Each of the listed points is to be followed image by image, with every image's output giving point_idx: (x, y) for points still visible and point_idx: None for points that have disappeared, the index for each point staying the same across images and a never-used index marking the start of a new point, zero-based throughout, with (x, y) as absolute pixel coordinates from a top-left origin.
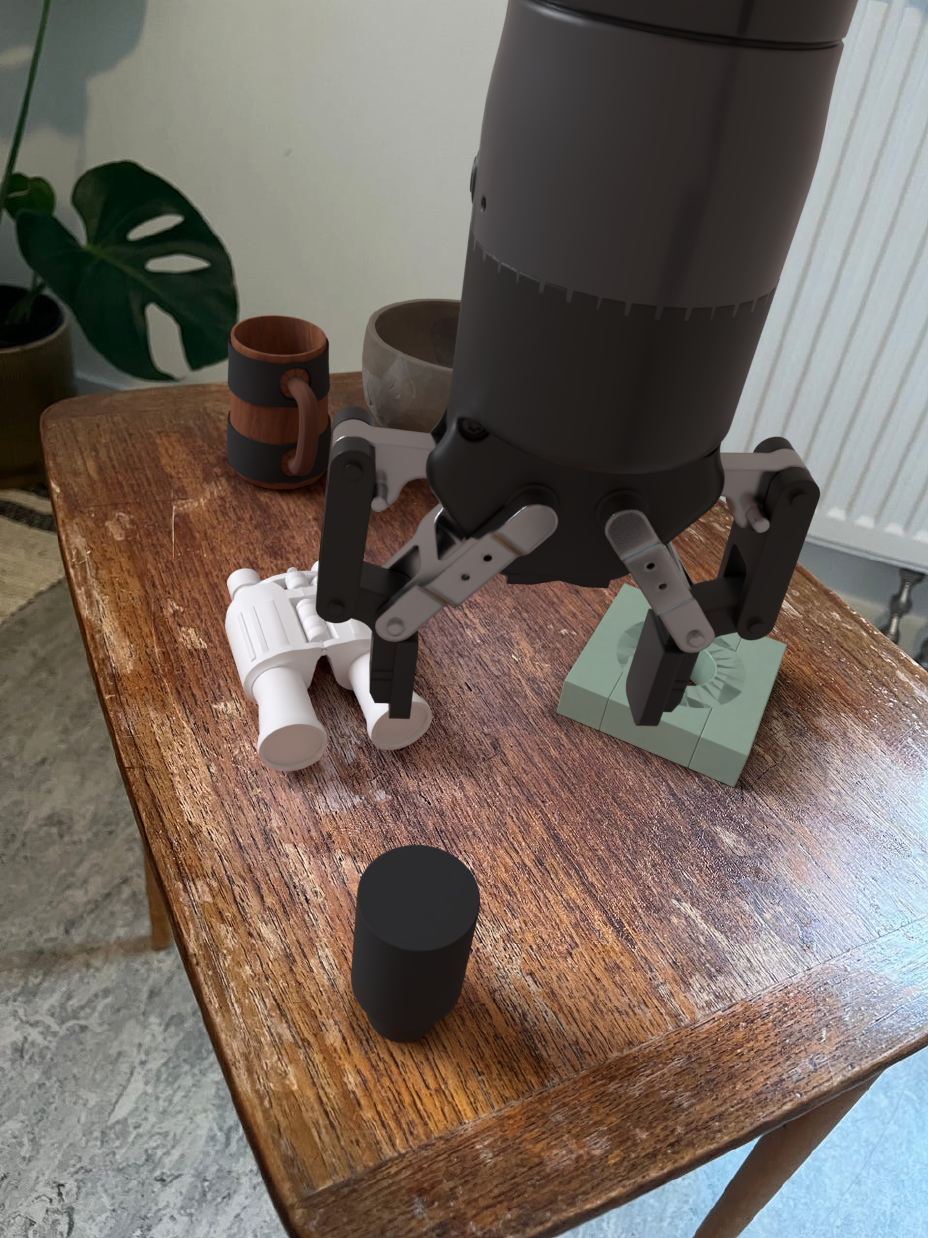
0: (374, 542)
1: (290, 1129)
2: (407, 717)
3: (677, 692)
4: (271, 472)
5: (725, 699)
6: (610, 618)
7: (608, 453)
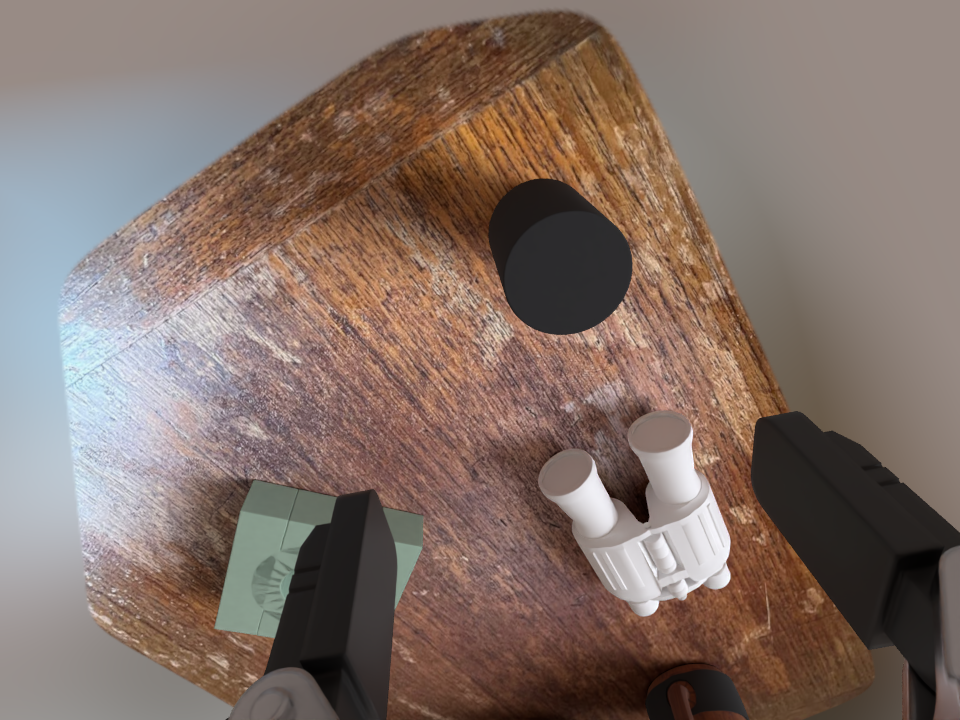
0: (598, 636)
1: (616, 89)
2: (770, 418)
3: (308, 564)
4: (698, 680)
5: (268, 561)
6: None
7: None
